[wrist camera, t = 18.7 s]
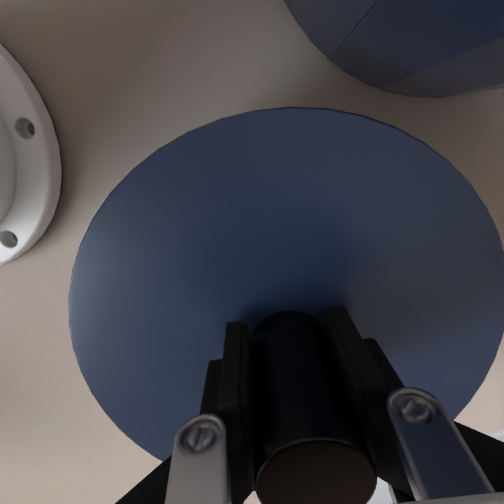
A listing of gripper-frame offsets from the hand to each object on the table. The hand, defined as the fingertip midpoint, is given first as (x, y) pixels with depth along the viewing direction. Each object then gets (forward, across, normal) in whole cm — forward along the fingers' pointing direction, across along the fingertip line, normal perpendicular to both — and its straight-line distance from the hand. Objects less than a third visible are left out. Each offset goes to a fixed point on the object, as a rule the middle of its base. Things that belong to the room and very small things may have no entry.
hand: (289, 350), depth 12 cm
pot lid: (+1, 0, 0) cm, 1 cm away
